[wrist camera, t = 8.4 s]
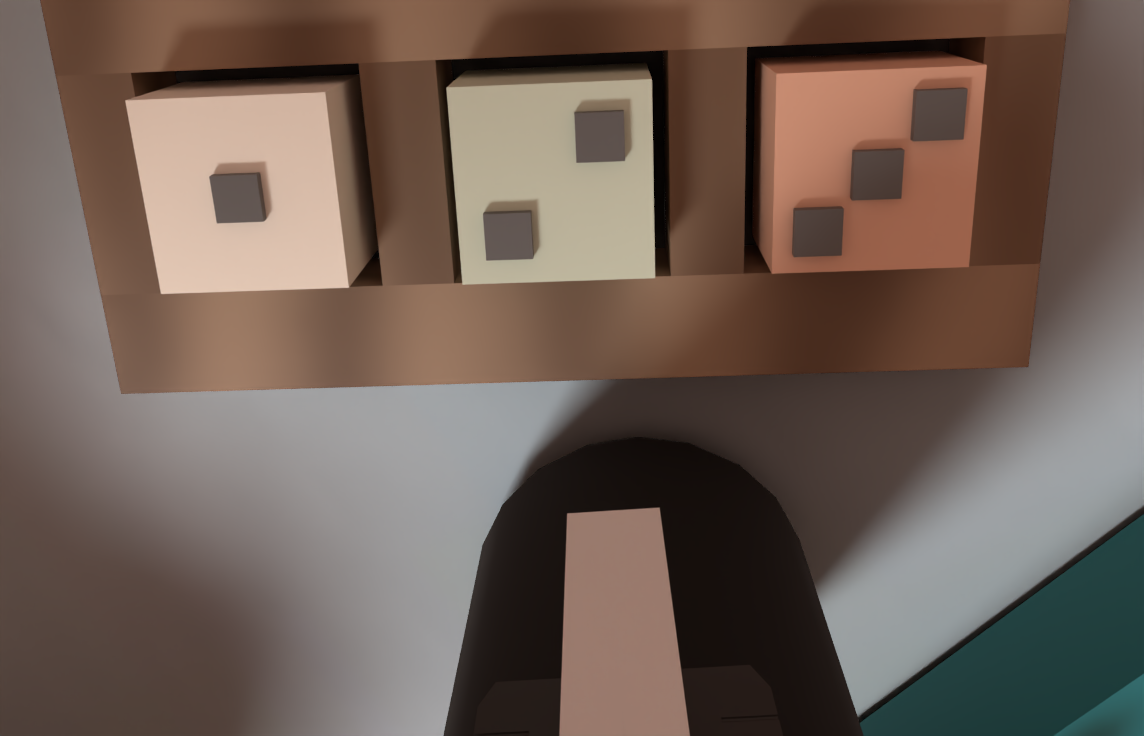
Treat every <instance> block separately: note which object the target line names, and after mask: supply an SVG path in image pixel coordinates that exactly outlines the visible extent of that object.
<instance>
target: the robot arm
mask: <svg viewBox="0 0 1144 736" xmlns="http://www.w3.org/2000/svg"><path fill="white" fill-rule="evenodd" d="M474 736H783V733H782V729H781V725H780V721H779V720H778V713H777V709H776V705H775V701H774V697H773V694H772V690H771V687H770V686H769V685H768V684H767V683H766V682H765V681H764V679H763V678H762V677H761V676H760V675H759V674H758V673H757V672H756V671H755V670H754V669H753V668H752V667H751V665H738V666H721V667H704V668H686V669H681V665H680V658H679V650H678V643H677V635H676V628H675V620H674V613H673V605H672V597H671V590H670V582H669V575H668V567H667V560H666V552H665V545H664V537H663V530H662V522H661V515H660V508H646V509H630V510H614V511H598V512H583V513H567V534H566V563H565V591H564V620H563V648H562V676H561V678H556V679H539V680H521V681H504V682H495V684H494V685H493V687H492V688H491V689H490V691H489V692H488V693H487V695H486V696H485V697H484V699H483V700H482V701H481V703H480V704H479V705H478V707H477V714H476V721H475V728H474Z"/></svg>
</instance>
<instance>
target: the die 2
mask: <svg viewBox="0 0 1144 736" xmlns="http://www.w3.org/2000/svg"><path fill="white" fill-rule="evenodd" d="M446 89H447V101H448V114H449V126H450V138H451V150H452V162H453V175H454V187H455V199H456V211H457V223H458V236H459V248H460V260H461V272H462V284H463V285H467V284H497V283H527V282H556V281H586V280H616V279H646V278H655V235H654V174H653V114H652V78H651V75H650V72H649V70H648V67H647V64H646V63H633V64H609V65H585V66H561V67H537V68H513V69H489V70H466V71H465V72H464V73H462V74H461V75H460V76H459V77H458V78H457V79H456V80H454V81H453V82H452V83H451V84H450V85H449V86H448V87H446Z"/></svg>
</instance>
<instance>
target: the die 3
mask: <svg viewBox="0 0 1144 736" xmlns="http://www.w3.org/2000/svg"><path fill="white" fill-rule="evenodd" d="M986 70H987V65H985V64H982V63H978V62H975V61H972V60H969V59H965V58H962V57H959V56H955V55H952V54H949V53H946V52H942V51H916V52H892V53H868V54H844V55H820V56H796V57H772V58H755V102H754V164H753V225H752V236H753V238H754V240H755V242H756V244H757V246H758V248H759V250H760V252H761V253H762V255H763V257H764V259H765V261H766V263H767V265H768V267H769V269H770V271H771V273H772V274H777V273H807V272H837V271H867V270H897V269H927V268H957V267H969V260H970V248H971V237H972V226H973V215H974V204H975V193H976V181H977V170H978V159H979V148H980V137H981V126H982V115H983V103H984V92H985V81H986Z"/></svg>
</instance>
